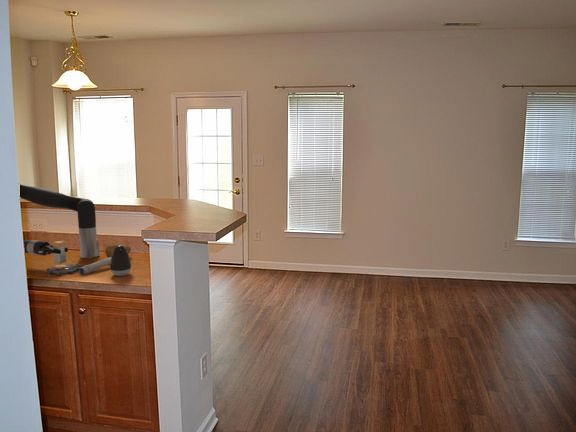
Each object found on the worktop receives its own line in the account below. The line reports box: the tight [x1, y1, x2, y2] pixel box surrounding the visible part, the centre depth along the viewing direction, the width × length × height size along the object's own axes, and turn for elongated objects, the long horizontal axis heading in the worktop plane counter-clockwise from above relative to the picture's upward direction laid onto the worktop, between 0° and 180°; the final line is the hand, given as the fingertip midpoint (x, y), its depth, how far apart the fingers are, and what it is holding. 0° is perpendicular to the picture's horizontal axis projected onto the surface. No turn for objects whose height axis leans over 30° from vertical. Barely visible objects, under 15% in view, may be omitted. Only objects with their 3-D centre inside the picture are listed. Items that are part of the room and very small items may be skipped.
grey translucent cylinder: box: [52, 240, 67, 265], centre depth 249 cm, size 4×4×11 cm
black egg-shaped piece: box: [109, 245, 133, 277], centre depth 241 cm, size 10×10×15 cm
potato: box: [105, 243, 132, 258], centre depth 272 cm, size 9×16×9 cm, turn 144°
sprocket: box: [46, 263, 82, 277], centre depth 249 cm, size 17×17×2 cm
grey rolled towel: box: [78, 257, 111, 276], centre depth 252 cm, size 5×7×25 cm
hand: (63, 250), depth 248 cm, fingers closed on grey translucent cylinder, 4 cm apart
